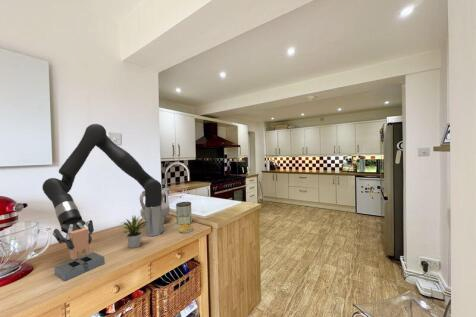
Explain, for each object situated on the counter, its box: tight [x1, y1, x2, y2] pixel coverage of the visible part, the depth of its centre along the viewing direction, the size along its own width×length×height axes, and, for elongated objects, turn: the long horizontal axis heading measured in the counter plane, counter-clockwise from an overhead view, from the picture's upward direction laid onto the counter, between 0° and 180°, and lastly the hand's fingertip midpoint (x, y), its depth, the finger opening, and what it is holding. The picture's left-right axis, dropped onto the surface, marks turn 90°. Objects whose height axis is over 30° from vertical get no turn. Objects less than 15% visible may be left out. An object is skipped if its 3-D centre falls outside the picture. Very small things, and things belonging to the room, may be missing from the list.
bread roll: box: [178, 224, 194, 234], centre depth 124 cm, size 8×9×4 cm
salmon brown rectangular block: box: [69, 227, 90, 260], centre depth 84 cm, size 6×4×11 cm, turn 150°
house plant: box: [121, 215, 150, 249], centre depth 103 cm, size 14×14×16 cm
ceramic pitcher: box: [139, 187, 171, 223], centre depth 141 cm, size 22×20×25 cm
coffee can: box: [175, 201, 193, 226], centre depth 139 cm, size 10×10×14 cm
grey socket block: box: [53, 251, 105, 282], centre depth 84 cm, size 14×10×3 cm
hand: (81, 245), depth 83 cm, fingers closed on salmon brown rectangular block, 5 cm apart
